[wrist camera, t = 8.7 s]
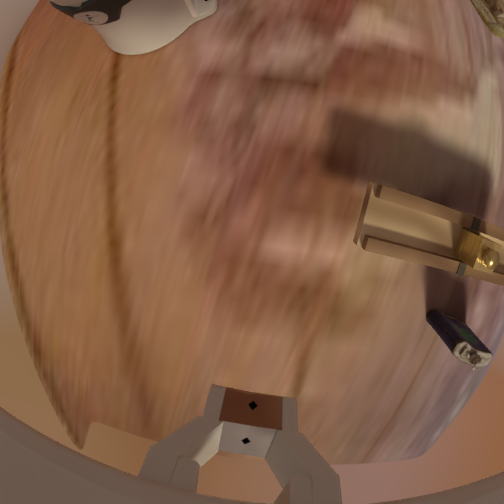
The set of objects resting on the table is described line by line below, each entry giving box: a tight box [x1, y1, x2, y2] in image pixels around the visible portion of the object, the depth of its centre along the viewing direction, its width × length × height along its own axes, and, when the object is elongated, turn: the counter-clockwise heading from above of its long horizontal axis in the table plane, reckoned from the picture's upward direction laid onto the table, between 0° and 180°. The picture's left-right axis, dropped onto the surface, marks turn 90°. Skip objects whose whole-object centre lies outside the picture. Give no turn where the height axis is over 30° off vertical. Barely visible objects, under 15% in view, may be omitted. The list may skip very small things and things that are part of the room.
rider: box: [454, 228, 502, 274], centre depth 23 cm, size 3×3×5 cm
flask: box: [426, 309, 492, 370], centre depth 32 cm, size 9×3×11 cm, turn 66°
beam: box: [353, 182, 504, 286], centre depth 28 cm, size 6×24×11 cm, turn 79°
